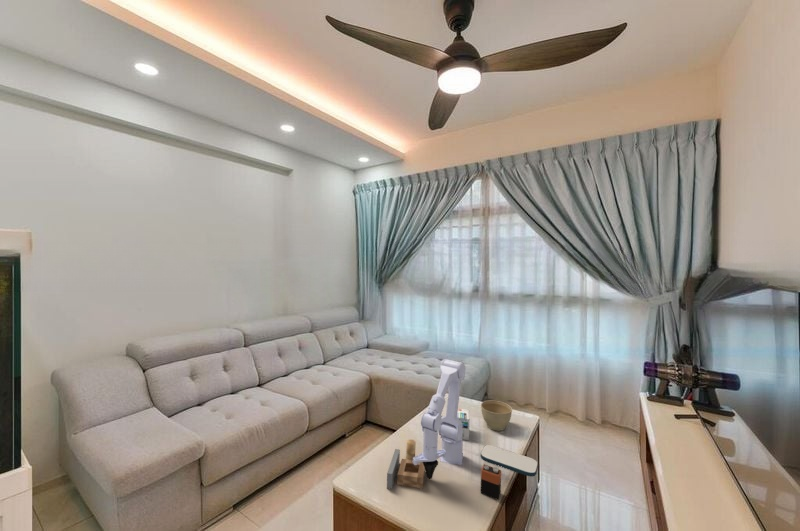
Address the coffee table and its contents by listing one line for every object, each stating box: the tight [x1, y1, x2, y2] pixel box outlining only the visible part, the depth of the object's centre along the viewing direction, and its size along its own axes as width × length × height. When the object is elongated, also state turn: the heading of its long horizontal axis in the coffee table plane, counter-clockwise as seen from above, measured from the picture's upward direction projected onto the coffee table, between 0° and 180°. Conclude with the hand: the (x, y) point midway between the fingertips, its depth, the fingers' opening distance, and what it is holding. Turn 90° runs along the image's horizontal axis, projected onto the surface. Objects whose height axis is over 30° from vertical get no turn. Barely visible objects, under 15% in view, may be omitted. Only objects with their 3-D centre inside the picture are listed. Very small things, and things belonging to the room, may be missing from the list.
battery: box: [480, 464, 502, 500], centre depth 120 cm, size 4×7×10 cm, turn 61°
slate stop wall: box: [386, 448, 401, 490], centre depth 128 cm, size 2×16×6 cm, turn 170°
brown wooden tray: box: [396, 458, 426, 489], centre depth 126 cm, size 10×10×4 cm
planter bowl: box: [480, 400, 513, 432], centre depth 169 cm, size 16×16×11 cm
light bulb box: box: [457, 408, 471, 441], centre depth 161 cm, size 11×7×11 cm, turn 168°
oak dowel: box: [405, 439, 416, 460], centre depth 138 cm, size 4×4×8 cm
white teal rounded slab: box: [480, 444, 539, 477], centre depth 140 cm, size 24×12×2 cm, turn 59°
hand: (429, 477), depth 125 cm, fingers closed
